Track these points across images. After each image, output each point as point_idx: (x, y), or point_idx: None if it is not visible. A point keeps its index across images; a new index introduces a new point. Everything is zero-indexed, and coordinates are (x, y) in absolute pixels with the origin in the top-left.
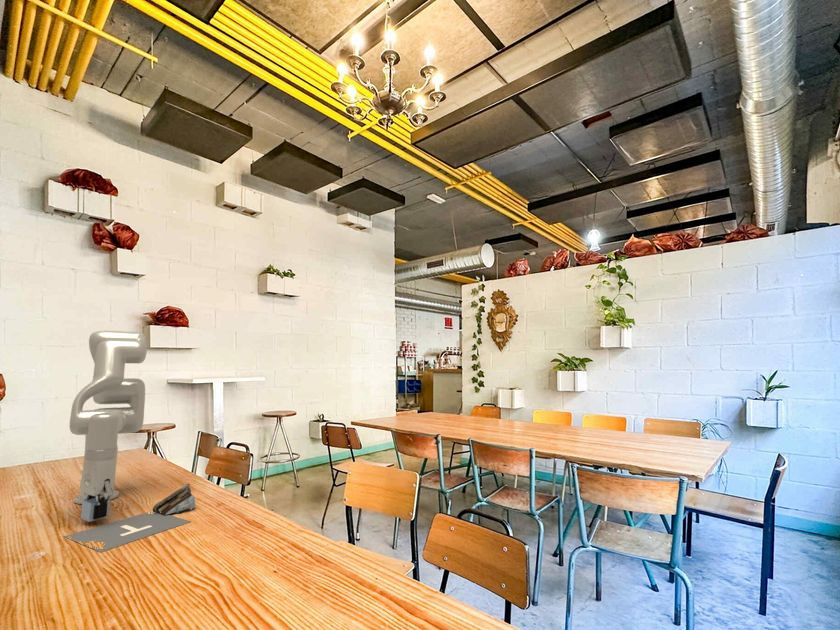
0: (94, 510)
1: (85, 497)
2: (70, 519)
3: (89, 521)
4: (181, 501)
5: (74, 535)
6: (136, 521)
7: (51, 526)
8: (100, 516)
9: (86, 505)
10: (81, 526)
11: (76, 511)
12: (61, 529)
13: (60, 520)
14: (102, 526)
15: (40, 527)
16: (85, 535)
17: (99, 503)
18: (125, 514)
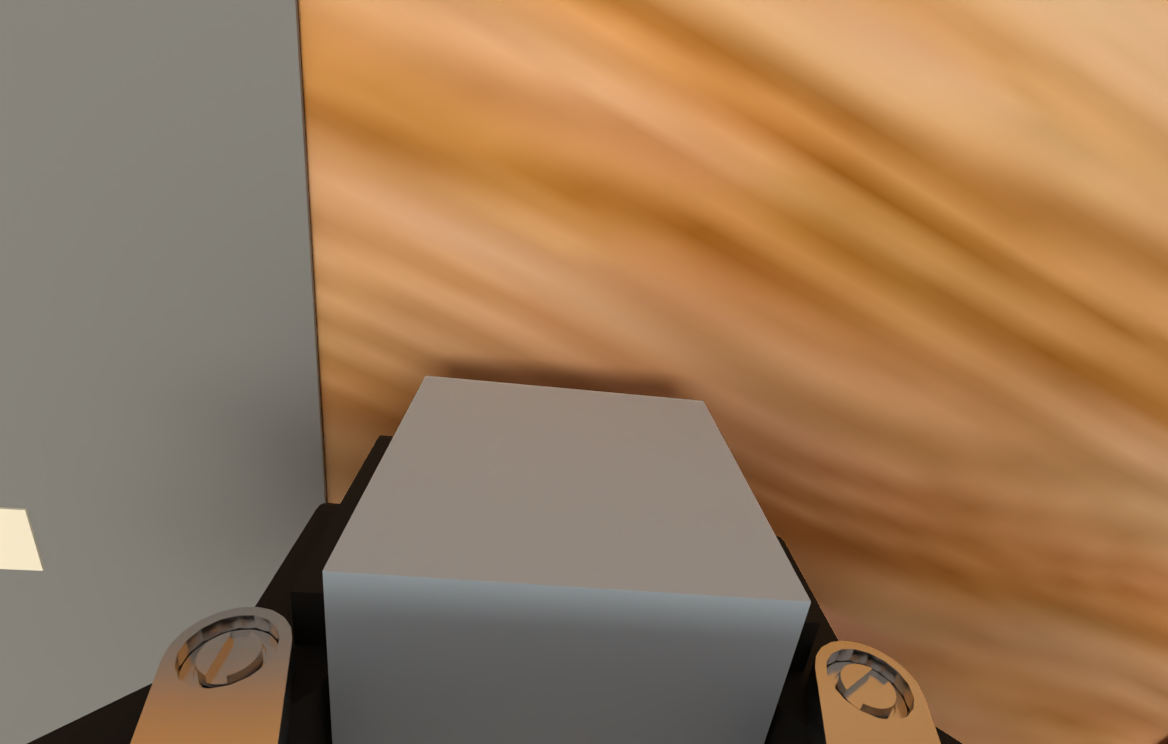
0: (347, 521)
1: (904, 725)
2: (982, 402)
3: (425, 381)
4: None
5: (169, 19)
6: (89, 670)
7: (995, 133)
8: None
9: (570, 534)
10: (557, 317)
11: (1161, 568)
12: (711, 119)
13: (1086, 329)
14: (258, 425)
15: (1132, 30)
16: (2, 99)
17: (162, 678)
18: None
